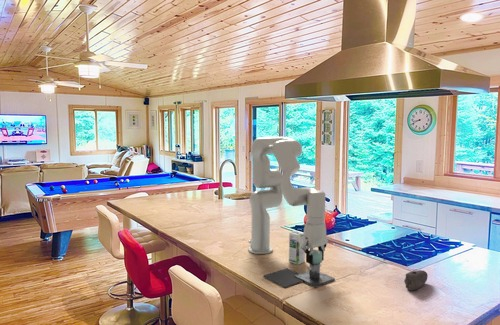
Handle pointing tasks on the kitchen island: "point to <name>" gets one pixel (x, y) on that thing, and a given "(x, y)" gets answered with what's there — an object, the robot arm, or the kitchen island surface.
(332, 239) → the kitchen island surface
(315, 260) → the cap
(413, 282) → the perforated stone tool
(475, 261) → the kitchen island surface
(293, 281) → the pad
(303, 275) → the dark grey square-based fixture
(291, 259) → the syrup box
